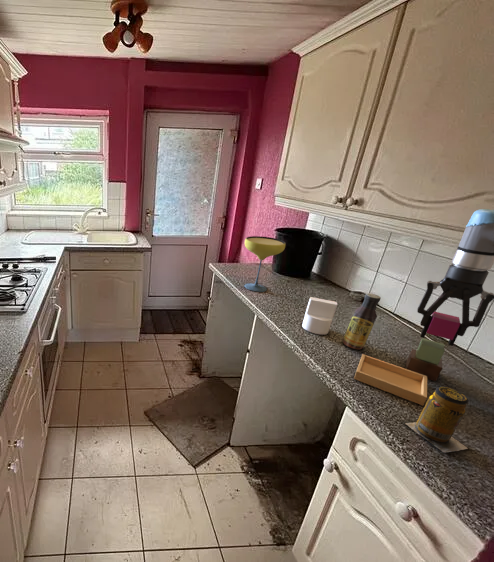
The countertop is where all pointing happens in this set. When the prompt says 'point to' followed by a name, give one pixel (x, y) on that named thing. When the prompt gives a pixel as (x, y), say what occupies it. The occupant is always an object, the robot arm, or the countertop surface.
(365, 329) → the sauce bottle
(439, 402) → the condiment
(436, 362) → the sage block
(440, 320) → the mulberry block
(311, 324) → the base with upright slab
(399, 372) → the oak tray
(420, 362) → the walnut block
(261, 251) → the cocktail glass
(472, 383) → the countertop surface
